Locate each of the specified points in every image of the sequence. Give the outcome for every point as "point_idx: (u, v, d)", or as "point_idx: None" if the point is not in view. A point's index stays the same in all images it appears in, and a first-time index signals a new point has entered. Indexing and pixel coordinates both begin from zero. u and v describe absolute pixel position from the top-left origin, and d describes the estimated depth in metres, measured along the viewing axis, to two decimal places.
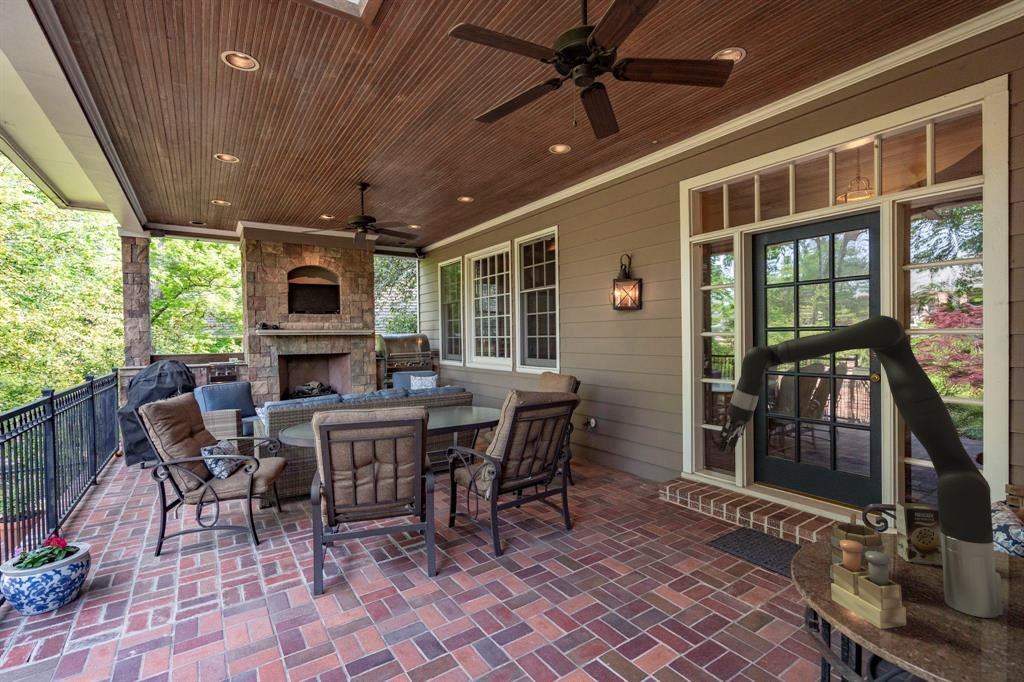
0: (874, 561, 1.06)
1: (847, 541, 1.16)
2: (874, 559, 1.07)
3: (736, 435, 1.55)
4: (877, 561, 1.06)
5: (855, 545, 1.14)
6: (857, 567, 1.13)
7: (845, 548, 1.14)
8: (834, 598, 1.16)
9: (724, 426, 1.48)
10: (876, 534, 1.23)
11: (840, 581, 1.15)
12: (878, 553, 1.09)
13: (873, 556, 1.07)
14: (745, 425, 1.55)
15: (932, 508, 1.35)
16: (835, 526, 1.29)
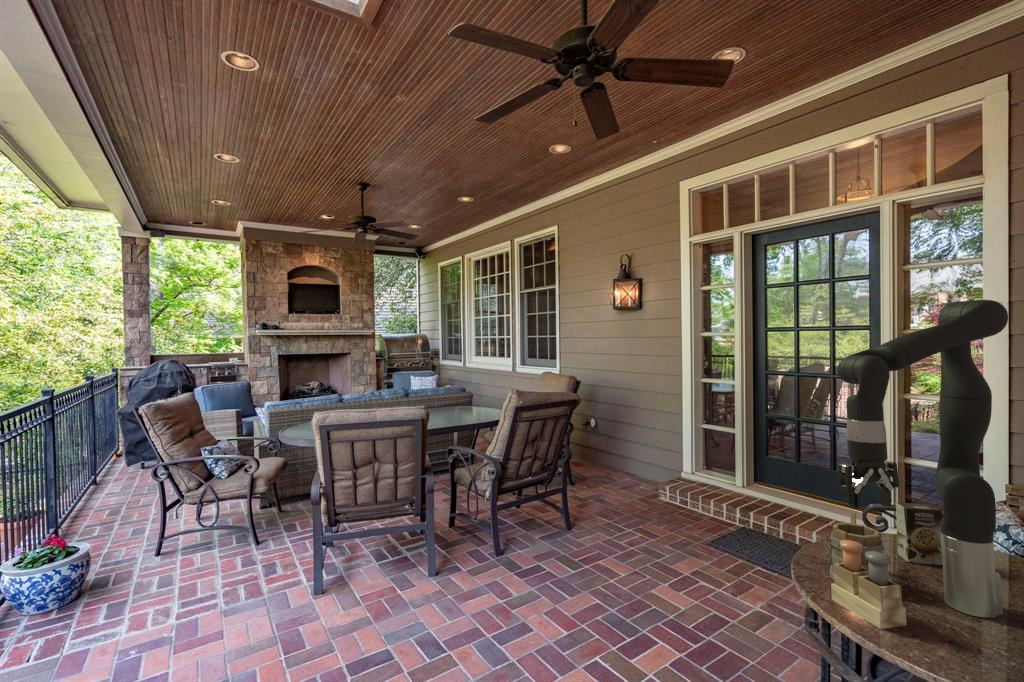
0: (874, 561, 1.06)
1: (847, 541, 1.16)
2: (874, 559, 1.07)
3: (885, 487, 1.09)
4: (877, 561, 1.06)
5: (855, 545, 1.14)
6: (857, 567, 1.13)
7: (845, 548, 1.14)
8: (834, 598, 1.16)
9: (840, 470, 1.09)
10: (876, 534, 1.23)
11: (840, 581, 1.15)
12: (878, 553, 1.09)
13: (873, 556, 1.07)
14: (895, 470, 1.09)
15: (932, 508, 1.35)
16: (835, 526, 1.29)
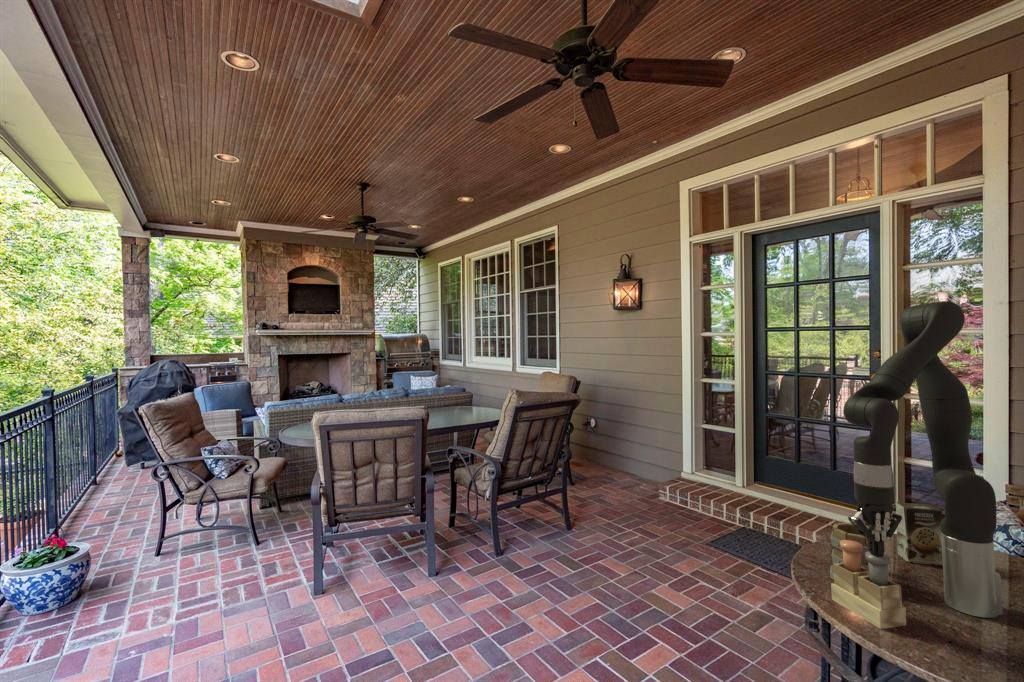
0: (874, 561, 1.06)
1: (847, 541, 1.16)
2: (874, 559, 1.07)
3: None
4: (877, 561, 1.06)
5: (855, 545, 1.14)
6: (857, 567, 1.13)
7: (845, 548, 1.14)
8: (834, 598, 1.16)
9: (852, 523, 1.08)
10: None
11: (840, 581, 1.15)
12: None
13: (873, 556, 1.07)
14: (897, 522, 1.08)
15: (932, 508, 1.35)
16: (835, 526, 1.29)
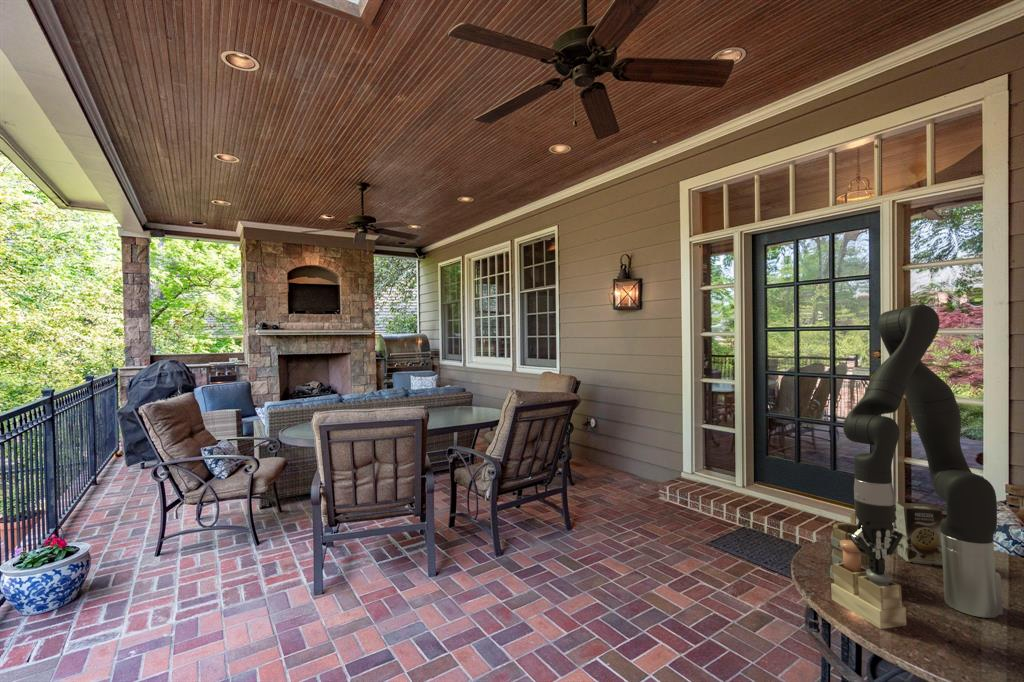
0: (875, 579, 1.06)
1: (847, 541, 1.16)
2: (875, 577, 1.06)
3: None
4: (878, 579, 1.06)
5: (855, 545, 1.14)
6: (857, 567, 1.13)
7: (845, 548, 1.14)
8: (834, 598, 1.16)
9: (853, 541, 1.08)
10: None
11: (840, 581, 1.15)
12: None
13: (874, 574, 1.07)
14: (897, 540, 1.08)
15: (932, 508, 1.35)
16: (835, 526, 1.29)
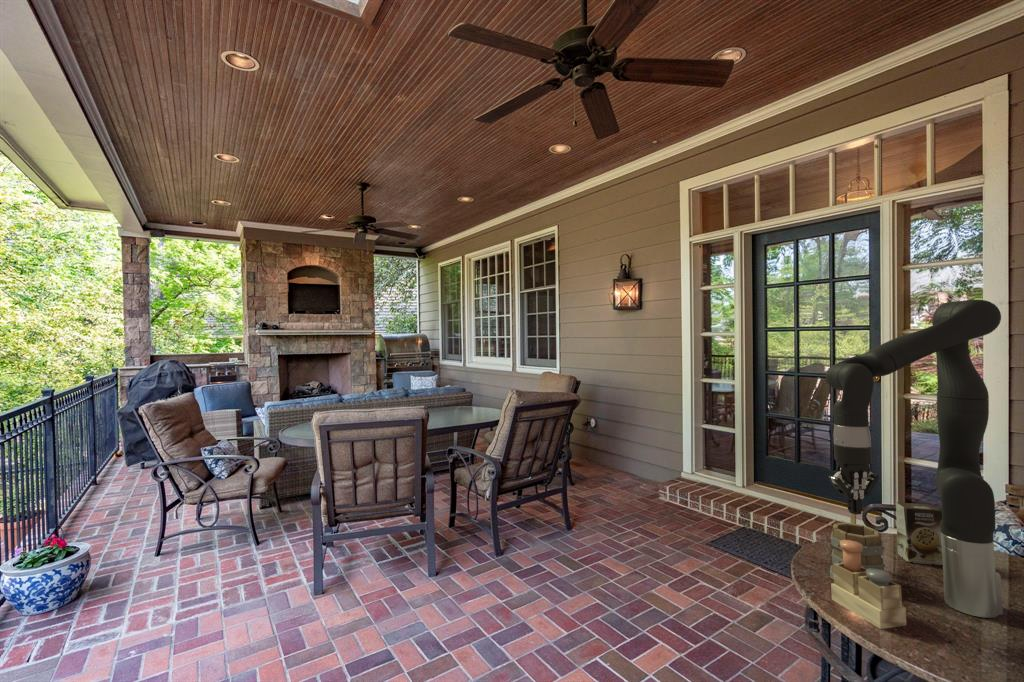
0: (875, 579, 1.06)
1: (847, 541, 1.16)
2: (875, 577, 1.06)
3: None
4: (878, 579, 1.06)
5: (855, 545, 1.14)
6: (857, 567, 1.13)
7: (845, 548, 1.14)
8: (834, 598, 1.16)
9: (832, 483, 1.13)
10: (876, 534, 1.23)
11: (840, 581, 1.15)
12: (879, 571, 1.09)
13: (874, 573, 1.07)
14: (874, 481, 1.13)
15: (932, 508, 1.35)
16: (835, 526, 1.29)
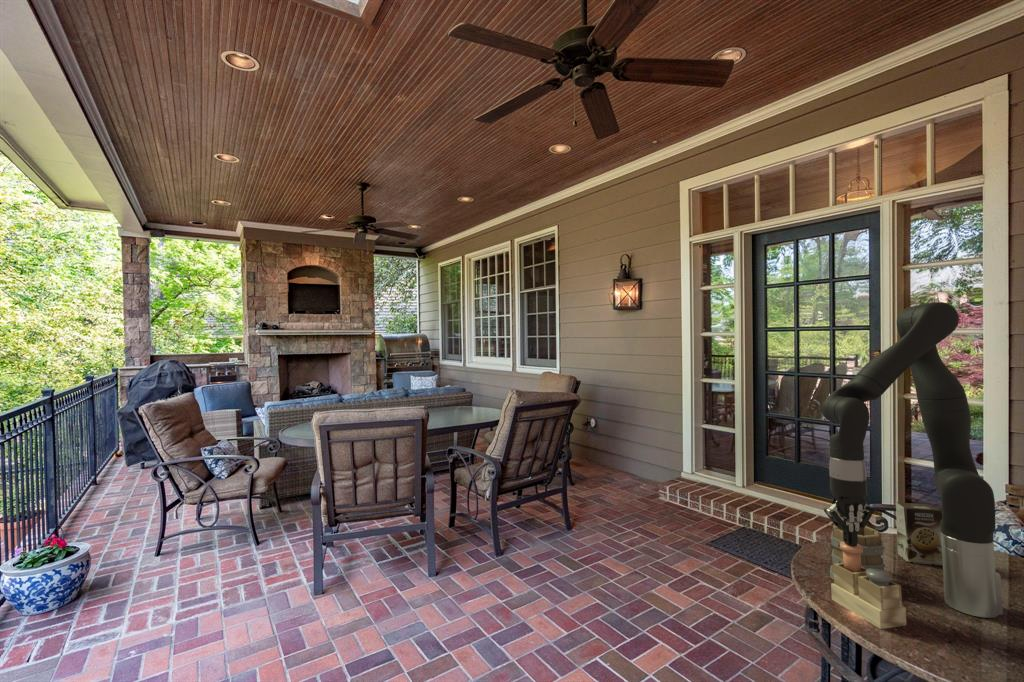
0: (875, 579, 1.06)
1: None
2: (875, 577, 1.06)
3: None
4: (878, 579, 1.06)
5: (855, 547, 1.14)
6: (857, 569, 1.13)
7: (845, 550, 1.14)
8: (834, 598, 1.16)
9: (828, 515, 1.15)
10: (876, 534, 1.23)
11: (840, 581, 1.15)
12: (879, 571, 1.09)
13: (874, 573, 1.07)
14: (869, 514, 1.15)
15: (932, 508, 1.35)
16: (835, 526, 1.29)
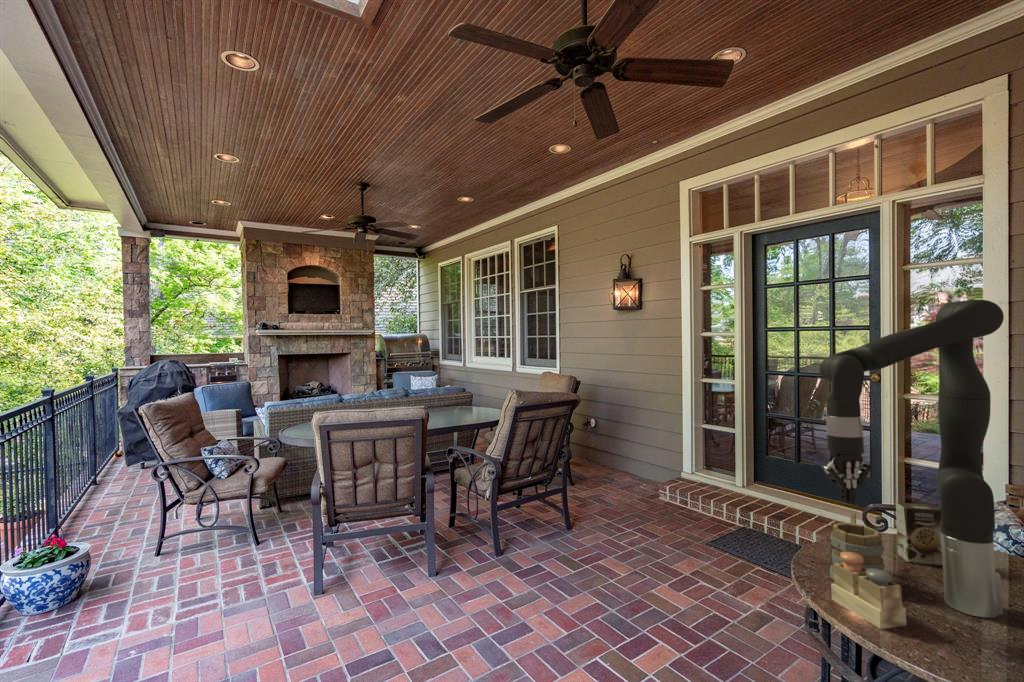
0: (875, 579, 1.06)
1: (848, 553, 1.16)
2: (875, 577, 1.06)
3: None
4: (878, 579, 1.06)
5: (856, 557, 1.14)
6: None
7: (846, 560, 1.14)
8: (834, 598, 1.16)
9: (825, 472, 1.16)
10: (876, 534, 1.23)
11: (840, 581, 1.15)
12: (879, 571, 1.09)
13: (874, 573, 1.07)
14: (866, 471, 1.15)
15: (932, 508, 1.35)
16: (835, 526, 1.29)
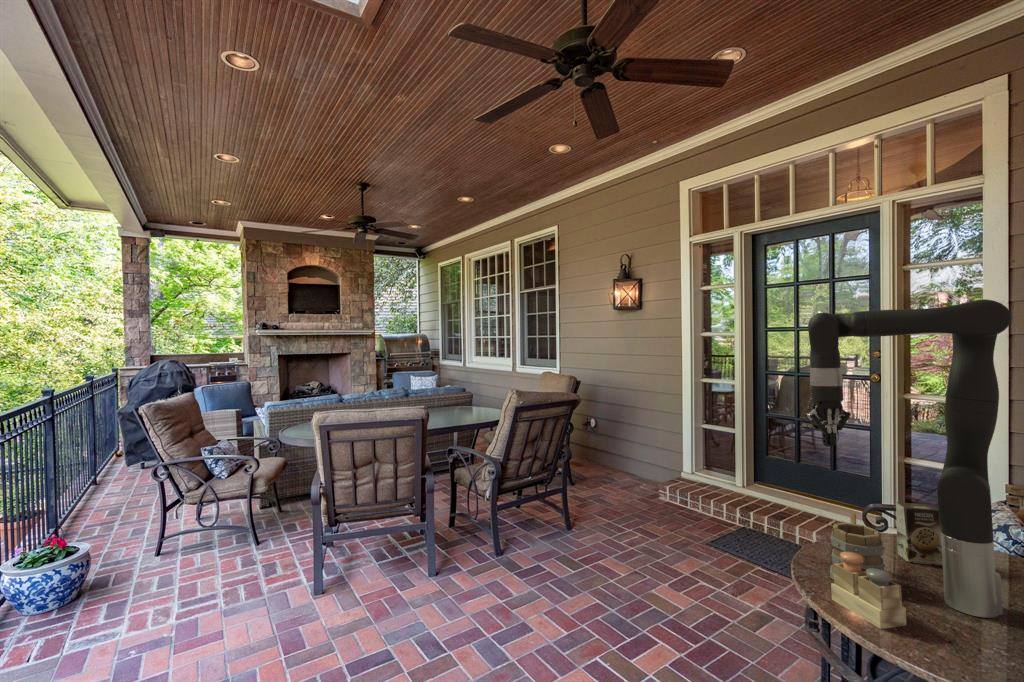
0: (875, 579, 1.06)
1: (848, 553, 1.16)
2: (875, 577, 1.06)
3: None
4: (878, 579, 1.06)
5: (856, 557, 1.14)
6: None
7: (846, 560, 1.14)
8: (834, 598, 1.16)
9: (808, 419, 1.28)
10: (876, 534, 1.23)
11: (840, 581, 1.15)
12: (879, 571, 1.09)
13: (874, 573, 1.07)
14: (846, 418, 1.27)
15: (932, 508, 1.35)
16: (835, 526, 1.29)
